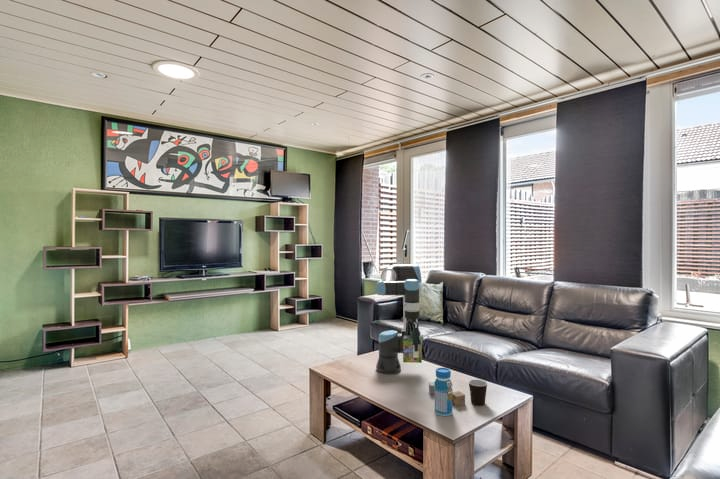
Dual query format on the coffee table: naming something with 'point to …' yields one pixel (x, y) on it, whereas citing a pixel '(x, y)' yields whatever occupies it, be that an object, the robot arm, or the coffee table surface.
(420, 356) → the chalk box
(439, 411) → the beverage bottle
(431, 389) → the gray cube
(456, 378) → the coffee table surface
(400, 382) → the coffee table surface
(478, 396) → the coffee mug
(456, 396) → the walnut block
